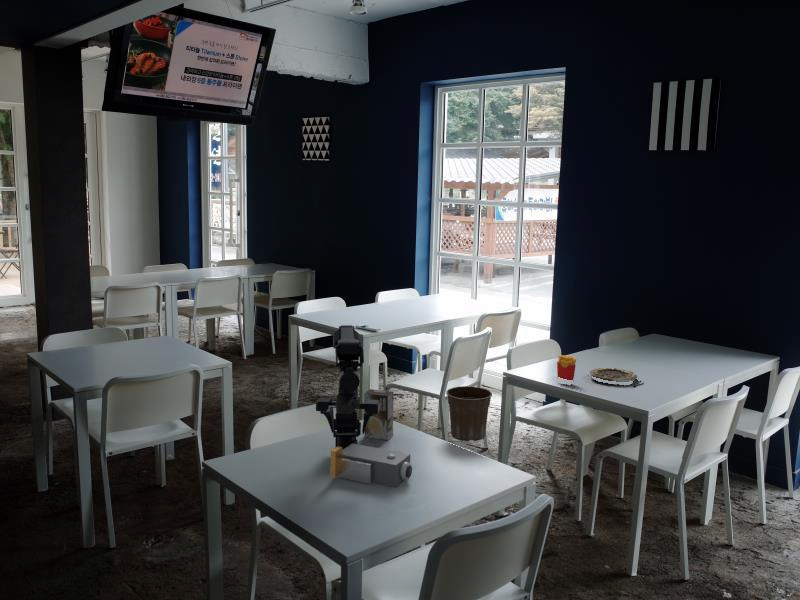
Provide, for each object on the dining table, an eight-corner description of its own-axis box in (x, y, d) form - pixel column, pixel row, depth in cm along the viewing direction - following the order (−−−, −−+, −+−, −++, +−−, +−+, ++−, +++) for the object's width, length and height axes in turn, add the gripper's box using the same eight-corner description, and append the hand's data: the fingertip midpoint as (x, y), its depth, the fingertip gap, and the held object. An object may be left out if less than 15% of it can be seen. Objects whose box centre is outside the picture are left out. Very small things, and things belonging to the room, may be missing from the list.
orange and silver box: (330, 481, 210) (330, 450, 209) (339, 475, 215) (339, 445, 214) (363, 488, 206) (364, 457, 204) (372, 482, 210) (372, 451, 209)
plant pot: (480, 447, 243) (481, 401, 241) (437, 438, 251) (438, 394, 248) (497, 433, 257) (499, 390, 255) (456, 426, 265) (457, 384, 262)
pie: (622, 392, 316) (622, 381, 316) (570, 381, 336) (570, 370, 336) (653, 382, 335) (654, 371, 334) (602, 371, 355) (603, 362, 354)
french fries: (554, 382, 330) (556, 355, 328) (560, 380, 333) (561, 353, 331) (571, 386, 323) (573, 358, 321) (576, 384, 326) (578, 357, 324)
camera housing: (336, 475, 216) (336, 451, 215) (352, 464, 225) (352, 441, 224) (401, 489, 207) (402, 464, 205) (416, 477, 216) (416, 453, 215)
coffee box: (394, 435, 254) (394, 391, 251) (387, 440, 248) (388, 395, 245) (369, 431, 257) (370, 388, 254) (363, 437, 251) (363, 393, 248)
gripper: (311, 388, 205) (311, 440, 207) (375, 391, 203) (375, 443, 205) (319, 378, 216) (319, 428, 218) (380, 381, 214) (380, 431, 216)
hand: (348, 433), depth 214 cm, fingers open, 9 cm apart
